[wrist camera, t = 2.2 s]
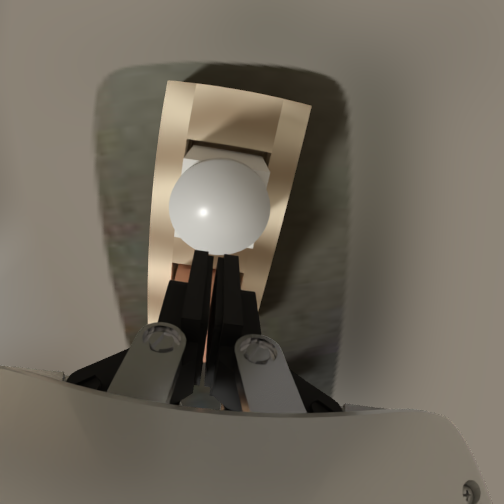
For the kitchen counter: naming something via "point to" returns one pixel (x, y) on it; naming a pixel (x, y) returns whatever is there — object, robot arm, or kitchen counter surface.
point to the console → (228, 138)
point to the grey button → (220, 200)
